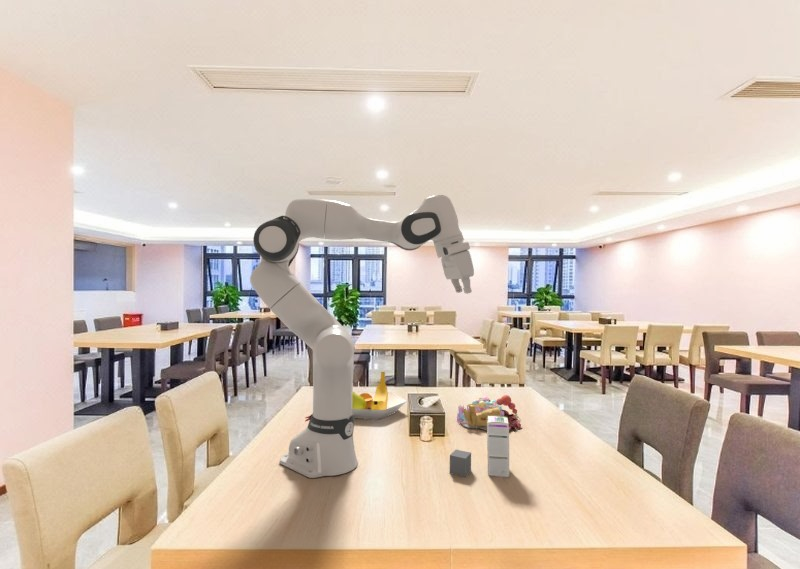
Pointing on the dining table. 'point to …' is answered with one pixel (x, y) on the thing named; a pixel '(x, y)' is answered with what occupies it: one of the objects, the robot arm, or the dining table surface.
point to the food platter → (487, 412)
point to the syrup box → (498, 446)
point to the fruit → (376, 402)
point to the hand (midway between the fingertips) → (463, 292)
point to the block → (460, 463)
